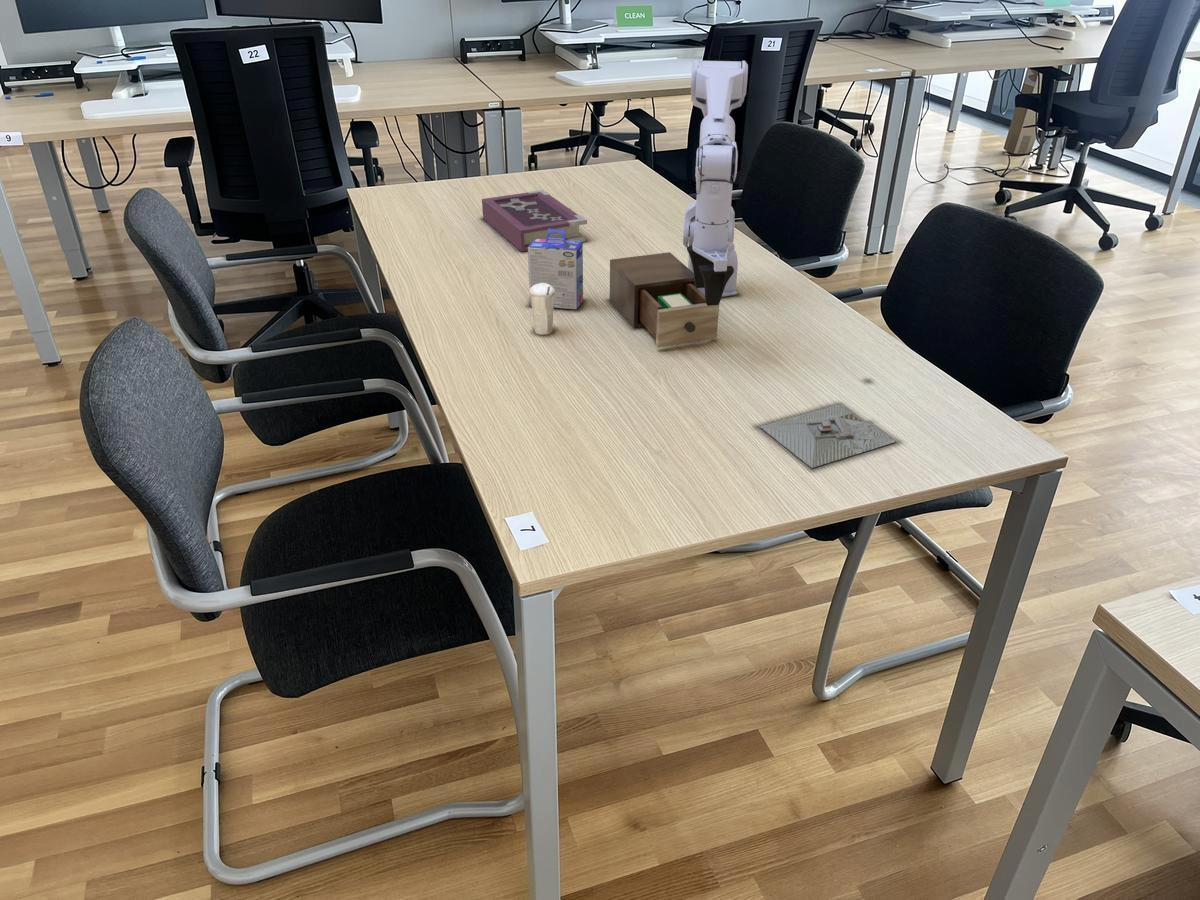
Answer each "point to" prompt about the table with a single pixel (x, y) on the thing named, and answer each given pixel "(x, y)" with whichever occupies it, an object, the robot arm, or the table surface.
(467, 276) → the table surface
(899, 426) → the table surface
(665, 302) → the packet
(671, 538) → the table surface
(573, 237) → the book
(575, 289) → the ink cartridge box
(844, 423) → the grey flat square slab
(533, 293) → the milkshake
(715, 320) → the drawer
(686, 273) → the cabinet
